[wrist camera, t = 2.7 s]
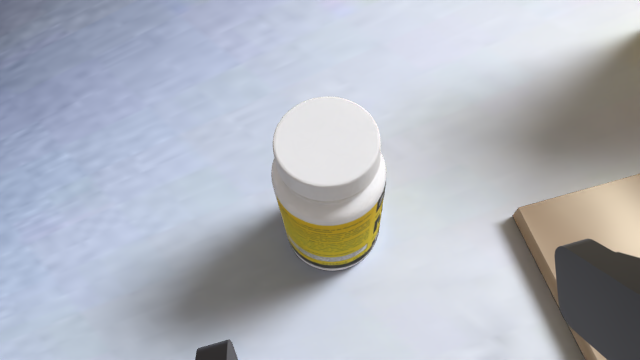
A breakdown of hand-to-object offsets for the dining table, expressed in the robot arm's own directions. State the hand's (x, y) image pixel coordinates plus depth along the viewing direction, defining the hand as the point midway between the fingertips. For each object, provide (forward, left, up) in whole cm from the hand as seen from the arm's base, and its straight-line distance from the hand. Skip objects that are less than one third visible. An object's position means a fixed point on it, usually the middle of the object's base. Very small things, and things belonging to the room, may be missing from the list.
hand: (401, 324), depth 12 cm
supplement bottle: (0, +7, -12) cm, 14 cm away
